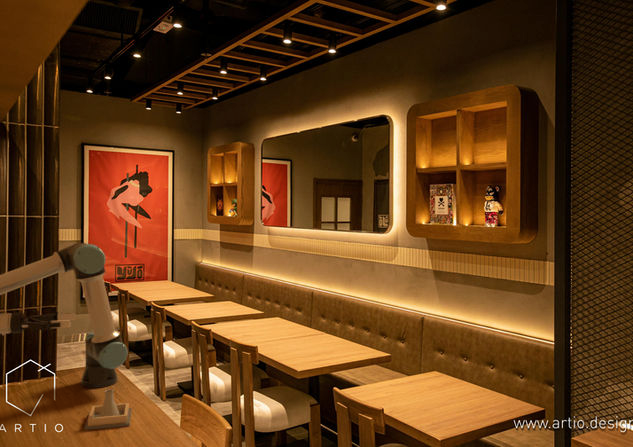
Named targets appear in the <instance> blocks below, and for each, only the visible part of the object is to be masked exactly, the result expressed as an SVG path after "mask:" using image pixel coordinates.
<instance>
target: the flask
mask: <svg viewBox="0 0 633 447" xmlns="http://www.w3.org/2000/svg"><path fill="white" fill-rule="evenodd" d="M114 391H115V390H114V389H111V388H110V389H106V390H104V394H105V395H104V396H105V397H104V402H103V404H102V405H103V407H102V410H101V413H100V415H99V417H106V416H117V415H120V414H119V411H118V409H117V407H116V404H117V403H116V401H115V399H114Z"/></svg>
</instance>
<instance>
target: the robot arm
mask: <svg viewBox="0 0 633 447" xmlns="http://www.w3.org/2000/svg"><path fill="white" fill-rule="evenodd" d="M105 264H106V255H105V253H104V251H103V250H102V249H101V248H100V246H99V247H98V246H97V245H95V244H92V243H86V242H85V243H84V242H78V243H73V244H72V245H70V246H67V247H65V248H62V249H60V250H57V251H54V252H53V254H52V255H51V256H48V257H45V258H43V259H40V260H38V261H35V262H31V263H29V264H26V265H23V266H21V267H18V268H15V269H13V270H10V271H7V272H4V273H2V274H0V296H2V295H4V294H6V293H9V292H12V291H14V290H17V289H19V288H22V287H24V286H27V285H29V284H32V283H34V282H38V281H40V280H43V279H44V278H49V277H50V276H53V275H56V274H58V273H62V274H64V273H67V272H70V271H73V272H74V276H75V280H77V281H78V282H80V284H81V287H82V288H81V289H82V291H83V294H84V300H85V303H86V306H87V307H86V308H87V312H88V316H89V320H90V324H91V328H92V331H91V332H89V333H87V334H86V336H85V340H84V341H85V342H84V343H85V366H84V370H83V373H82V377H81V379H80V380H81V382H80V385H81V387H84V388H89V389H93V388H94V389H95V388H96V389H97V388H106V387H109V386H113V385H114V384H116V383H117V382H118V374H117V371H116V368H119V367H121V366H122V365H123V364H124V363H125V361H126V360H127V358H128V355H129V354H128V353H129V352H128V347H127V346H126V345H125V343H123V340H122V335H121V332H120V331H118V329H116V327H115V322H114V318H113V314H112V310H111V306H110V301H109V298H108V293H107V290H106V285H105V281H104V275H105V274H106V269H105ZM76 315H77V314H76V312H71V313H70V312H69V313H59V312H58V311H55V312H53V313H47V314H45V313H43V314H38V315H30V316H29V317H26V316H25V313H24V312H13V313H11V312H9V313H8V312H6V313H4V312H3V313H0V335H1V336H5V334H11V333H12V334H20V333H23V332H24V331H25V330H31V331H32V330H33V331H36V330H38V331H47V332H50V331H52V330H53V329H69V328H71V321H76V319H77V318H76ZM51 329H52V330H51Z"/></svg>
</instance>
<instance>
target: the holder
mask: <svg viewBox="0 0 633 447" xmlns="http://www.w3.org/2000/svg"><path fill="white" fill-rule="evenodd" d="M115 404H116V407H117V409H118V411H119V414H120V415H117V416H106V417H99V415H100V413H101V410H102V407H103V404H101V405H92V406H91V410H90V411H89V414H88V417H87V420H86V421H85V425H84V431H91V430H101V429H102V430H104V429H112V428H121V427H122V428H123V427H124V428H125V427H130V426H131V419H132V418H131V417H132V411H133V410H132V409H133V408H132V407H130V406H129V405H130V404H129V402H125V403H123V402H122V403H115Z"/></svg>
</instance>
